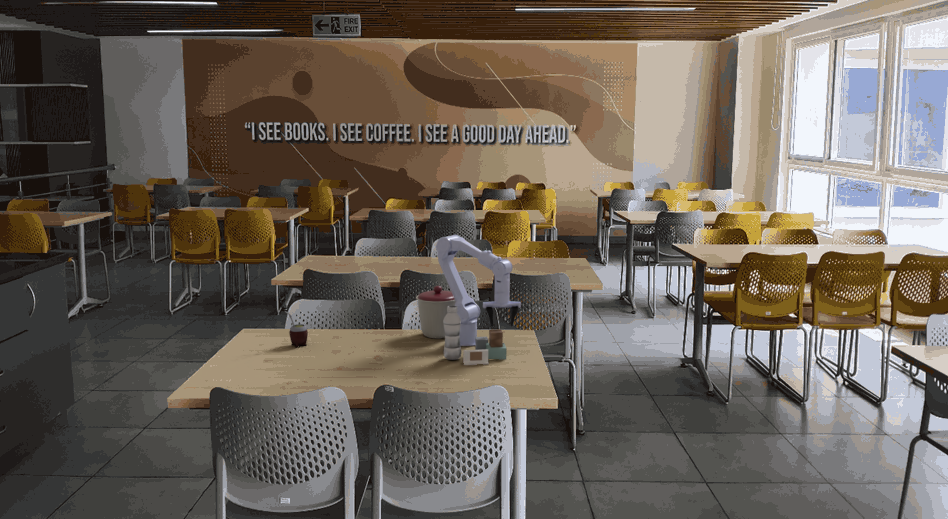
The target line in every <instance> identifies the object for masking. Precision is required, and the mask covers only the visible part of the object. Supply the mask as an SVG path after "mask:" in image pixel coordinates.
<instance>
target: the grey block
mask: <svg viewBox="0 0 948 519" xmlns="http://www.w3.org/2000/svg"><path fill="white" fill-rule="evenodd" d="M486 343H489V338H488V336H477V337H475V346H474V347H475V349H474V350H486Z"/></svg>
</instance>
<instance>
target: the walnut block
mask: <svg viewBox="0 0 948 519" xmlns="http://www.w3.org/2000/svg"><path fill="white" fill-rule="evenodd" d="M488 336H489V338H488V343H489V345H490V347H503V343H504V340H503V338H504V332H503V331H502V329H489V332H488Z"/></svg>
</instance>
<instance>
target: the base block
mask: <svg viewBox="0 0 948 519" xmlns="http://www.w3.org/2000/svg"><path fill="white" fill-rule="evenodd" d="M507 349H508V348H507V346H506V344H505V342H503V347H490V345H489V342H488V343H486V350H488V359H499V360H507V352H508V351H507Z"/></svg>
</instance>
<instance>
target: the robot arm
mask: <svg viewBox="0 0 948 519" xmlns="http://www.w3.org/2000/svg"><path fill="white" fill-rule="evenodd" d="M435 249H436V251H437V260H438V264H439V266H440V268H441V271H442V274H443V276H444V277H445V280H446V282H447V284H448V287H449V289H450V292H452V294H453V296H454V298H455V301H456V303H455V305H454V306H457V310H458V312H457V314H458V315H459V317H460V319H461V326H460V347H468V346H469V347H470V346H471V347H472V346H474V347H475V337H478V323H477V322H478V318H479V316H480V315H481V309H480V306H479V305H478V304H477V303H476V302H475V299H473V298H472V297H470V296H469V294H468V292H467V290H466V287H465V285H464V283H463V280H462V278H461V276H460V273H459V271H458V270H457V266H456V264H455V262H454V258H455V256H456V254H457V253H458V252H460V251H461V252H463V253H465V254H468V255H470V256H471V257H473V258H475V259H477V261H478V263H479V264H480V265H482V266H483V267H485V268H487V269H489V270H490V271H492V273H493V275H494V276H493V277H494V301H493V300H492V301H483V302H482V308H483V309H485V310H486V313H487V315H488V318H489V323H490V327H494V309H495V308H510V320H509V321H510V322H509V325H510V326H511V327H514V322H515V318H516V316H517V313H518V312H519V308H522V302H521V301H513V300H512V301H511V300H510V288H511V285H510V284H511V283H510V282H511V281H510V280H511V276H510V274H511V273H512V271H513V264H512V263H513V262H512V261H510V260H509V259H508V258H504V259H503V258H502V257H501V256H497V255H496V254H494V253H492V250H480V248H478V247H477V246H474V245H473V244H472V243H470V242H469V241H467V240H466V239H465V238H464V237H463V236H460V235H458V234H452V235H448V236H442V237H439V239H438V240H437V242H436V244H435ZM493 308H494V309H493Z"/></svg>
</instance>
